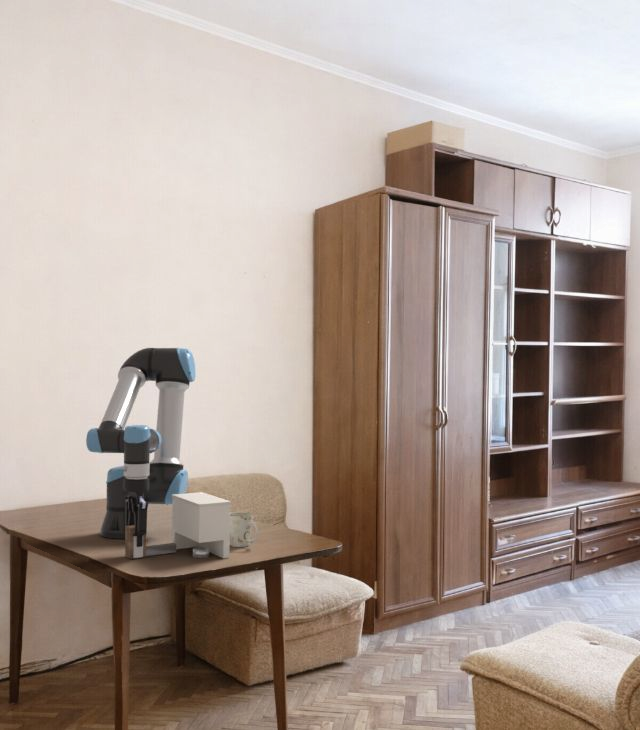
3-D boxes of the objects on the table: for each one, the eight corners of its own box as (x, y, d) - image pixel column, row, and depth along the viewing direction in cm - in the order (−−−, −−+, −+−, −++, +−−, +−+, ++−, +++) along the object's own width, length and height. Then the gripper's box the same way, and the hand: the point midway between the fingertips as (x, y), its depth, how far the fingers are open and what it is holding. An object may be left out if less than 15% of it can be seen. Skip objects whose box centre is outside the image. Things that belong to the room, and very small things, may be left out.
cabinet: (171, 548, 247) (171, 494, 247) (201, 544, 252) (202, 492, 253) (198, 561, 230) (199, 504, 230) (230, 557, 235) (231, 501, 236)
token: (189, 555, 238) (190, 548, 238) (205, 554, 240) (205, 546, 240) (196, 559, 233) (197, 551, 233) (212, 557, 236) (212, 549, 236)
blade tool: (125, 556, 235) (125, 525, 235) (172, 550, 243) (172, 520, 243) (129, 558, 231) (130, 528, 231) (177, 552, 240) (177, 523, 240)
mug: (239, 541, 258) (240, 510, 258) (267, 547, 250) (268, 515, 250) (221, 545, 252) (221, 514, 252) (249, 551, 244) (250, 519, 244)
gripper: (114, 474, 239) (113, 551, 239) (134, 481, 225) (133, 563, 225) (138, 472, 244) (137, 548, 244) (159, 480, 229) (158, 560, 229)
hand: (135, 555), depth 234 cm, fingers closed on blade tool, 4 cm apart
